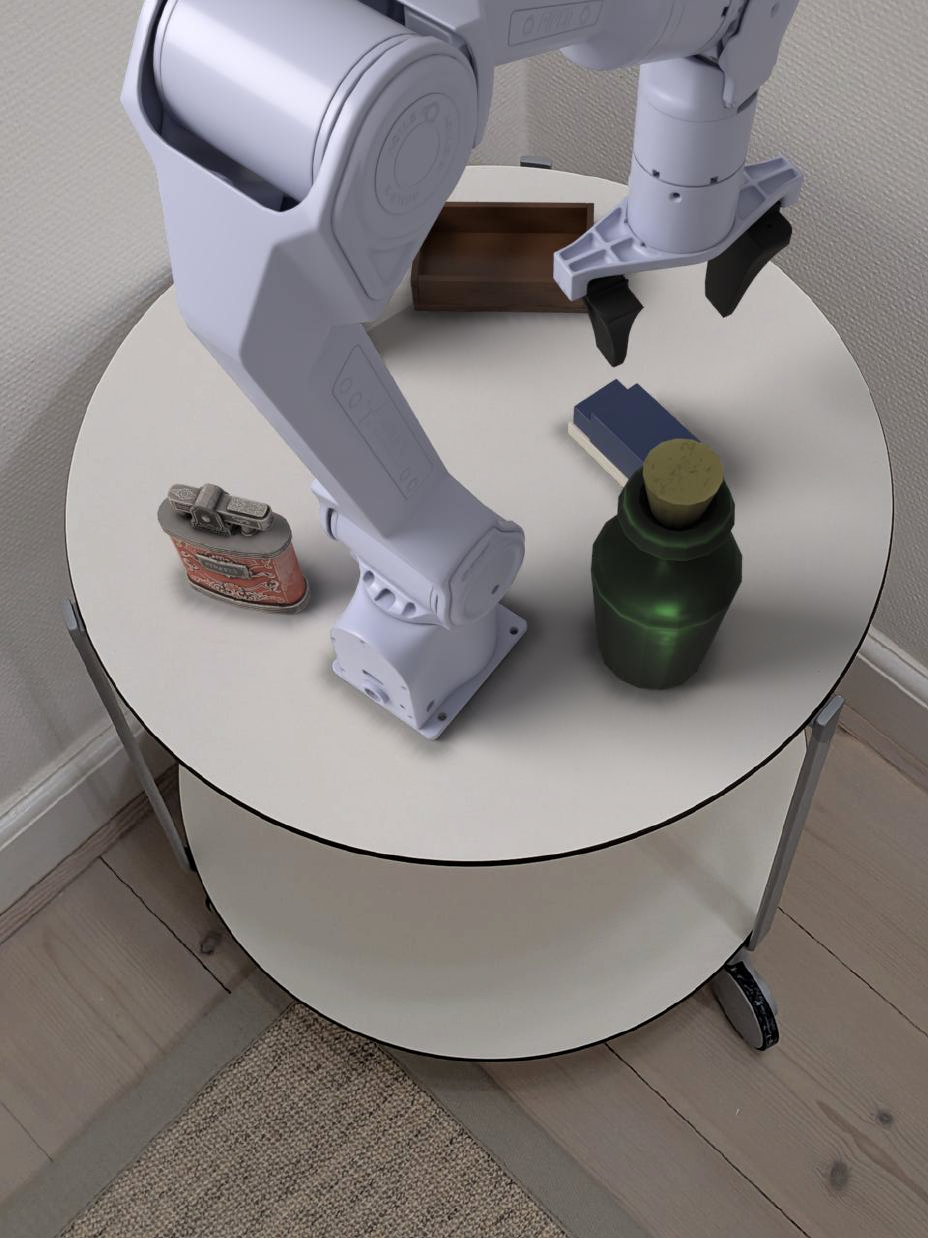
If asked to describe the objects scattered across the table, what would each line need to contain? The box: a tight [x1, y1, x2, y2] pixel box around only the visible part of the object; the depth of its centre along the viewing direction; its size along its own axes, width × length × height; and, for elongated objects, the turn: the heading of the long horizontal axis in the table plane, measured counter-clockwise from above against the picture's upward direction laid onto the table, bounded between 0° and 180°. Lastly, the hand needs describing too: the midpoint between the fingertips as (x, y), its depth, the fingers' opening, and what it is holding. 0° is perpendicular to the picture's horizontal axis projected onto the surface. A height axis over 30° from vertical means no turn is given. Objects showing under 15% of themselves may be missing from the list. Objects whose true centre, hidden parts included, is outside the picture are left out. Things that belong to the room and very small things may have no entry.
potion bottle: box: [590, 439, 743, 691], centre depth 67 cm, size 8×8×18 cm
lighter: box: [156, 482, 312, 615], centre depth 74 cm, size 8×3×10 cm, turn 73°
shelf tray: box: [409, 201, 595, 313], centre depth 88 cm, size 12×8×3 cm, turn 86°
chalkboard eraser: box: [567, 378, 702, 489], centre depth 79 cm, size 8×4×4 cm, turn 37°
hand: (664, 329), depth 74 cm, fingers open, 7 cm apart
